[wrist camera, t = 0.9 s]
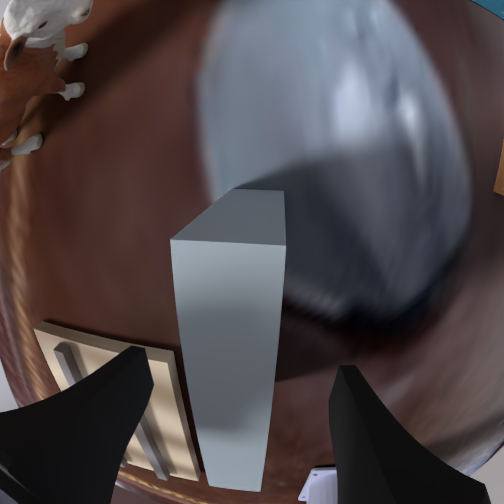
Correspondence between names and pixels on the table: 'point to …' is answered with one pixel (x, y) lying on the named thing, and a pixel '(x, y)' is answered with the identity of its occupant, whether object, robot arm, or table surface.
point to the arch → (500, 176)
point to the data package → (492, 6)
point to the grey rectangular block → (232, 328)
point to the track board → (159, 406)
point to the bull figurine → (34, 61)
